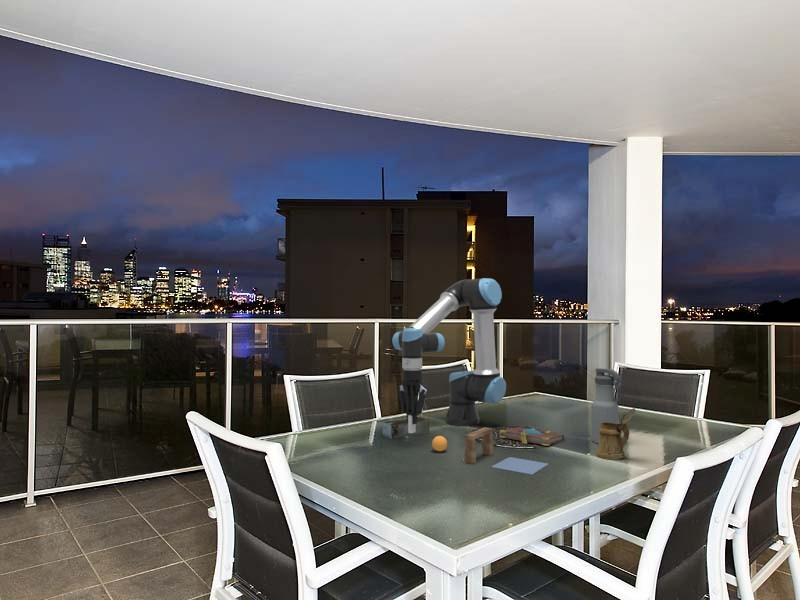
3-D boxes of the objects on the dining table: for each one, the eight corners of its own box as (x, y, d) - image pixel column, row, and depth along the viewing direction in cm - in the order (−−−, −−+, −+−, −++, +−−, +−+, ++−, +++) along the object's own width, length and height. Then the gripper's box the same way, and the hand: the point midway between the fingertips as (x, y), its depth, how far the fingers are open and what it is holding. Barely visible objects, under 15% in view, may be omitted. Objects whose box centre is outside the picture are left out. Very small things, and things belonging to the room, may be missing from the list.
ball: (437, 448, 197) (437, 433, 197) (450, 450, 194) (450, 435, 194) (429, 451, 193) (429, 436, 193) (442, 454, 189) (442, 438, 190)
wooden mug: (629, 464, 176) (628, 409, 176) (591, 456, 186) (590, 404, 187) (642, 459, 181) (641, 406, 182) (604, 451, 192) (604, 401, 192)
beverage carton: (381, 435, 219) (381, 420, 219) (420, 430, 228) (420, 415, 229) (391, 439, 212) (391, 423, 212) (430, 434, 222) (430, 418, 222)
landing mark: (509, 457, 185) (509, 456, 185) (548, 464, 176) (548, 463, 176) (491, 467, 173) (491, 466, 173) (532, 474, 165) (532, 474, 165)
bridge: (464, 462, 179) (464, 435, 179) (485, 453, 191) (484, 427, 191) (472, 464, 177) (472, 436, 177) (492, 454, 189) (492, 428, 189)
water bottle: (624, 442, 205) (623, 369, 206) (614, 447, 198) (613, 371, 199) (598, 437, 212) (597, 367, 213) (587, 442, 205) (586, 369, 206)
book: (510, 433, 226) (510, 421, 226) (565, 443, 209) (565, 430, 209) (488, 438, 214) (488, 426, 214) (545, 449, 197) (545, 435, 197)
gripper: (392, 368, 202) (391, 431, 201) (420, 371, 194) (420, 436, 193) (403, 367, 208) (403, 428, 207) (432, 369, 200) (431, 433, 199)
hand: (411, 432), depth 200 cm, fingers closed
